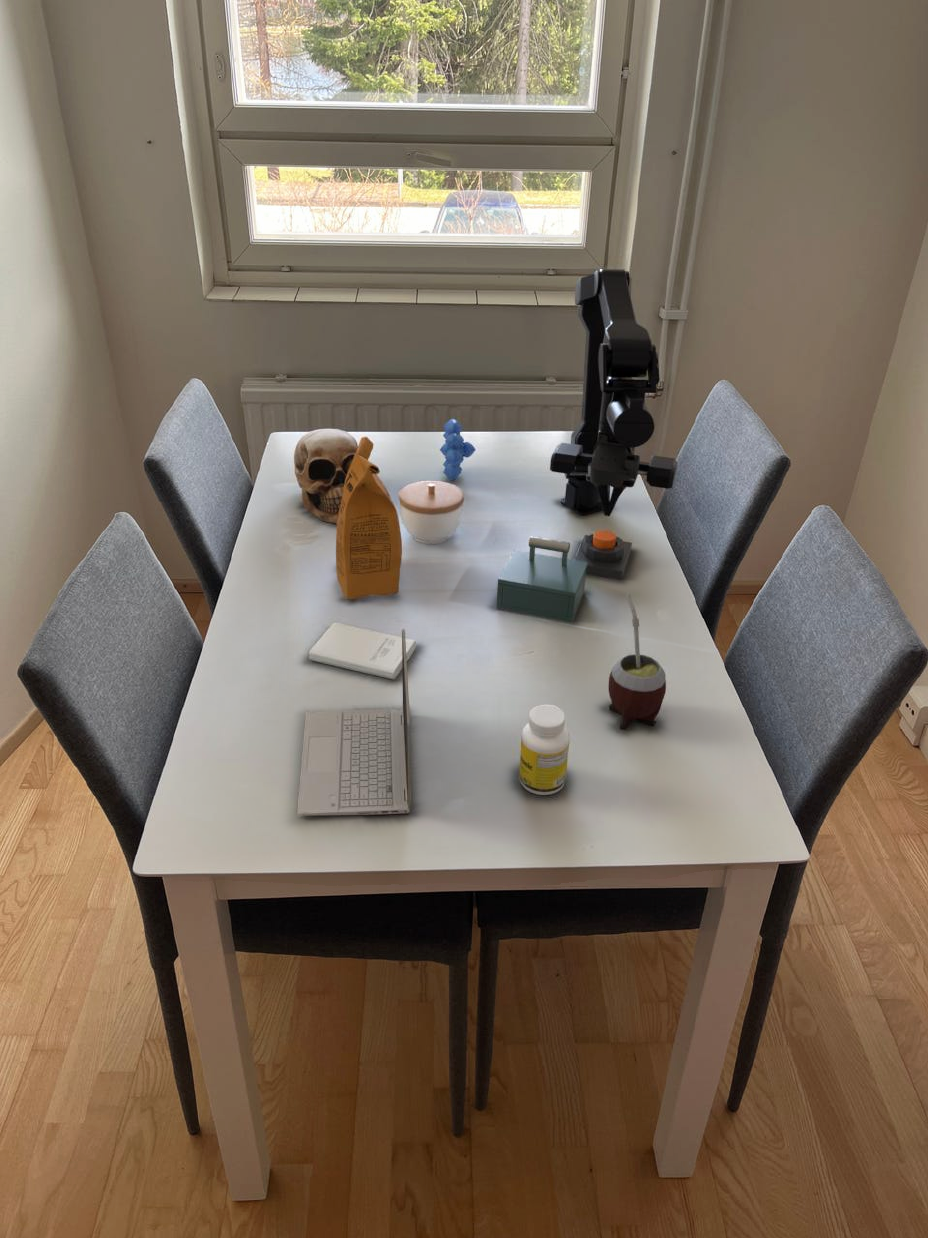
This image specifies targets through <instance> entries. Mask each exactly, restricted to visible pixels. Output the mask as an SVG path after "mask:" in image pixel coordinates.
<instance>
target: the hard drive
mask: <svg viewBox="0 0 928 1238" xmlns="http://www.w3.org/2000/svg"><path fill="white" fill-rule="evenodd" d="M405 641H406V659H407V662H408V660H409V659H411V656H412V655H413V653H414V652H415V651H416V647H417V640H416V639H411V638H407V637H405ZM308 658H309V661H312V662H317V663H320V664H325V665H329V666H335V667H338V668H342V669H347V670H351V671H355V672H359V673H363V674H368V675H372V676H376V677H381V678H385V679H389V680H396V679H397V678H398V675H399V674H400V673H401V671H402V636H398V635H393V634H389V633H385V632H380V631H375V630H371V629H366V628H362V627H358V626H355V625H354V626H353V625H348V624H344V623H340V622H333V623H332V624H331V625H330V626H329V627H328V629H327V630H326V631H325V632H324V633H323V634H322V636H321V637H320V638H319V639H318V641H316V642H315V644H314V645H313V646H312V647H311V648H310V650H309V651H308Z"/></svg>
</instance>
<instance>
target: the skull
mask: <svg viewBox="0 0 928 1238" xmlns="http://www.w3.org/2000/svg"><path fill="white" fill-rule="evenodd" d="M358 446H359V443H358V442H357V440H356V438H355V437H354V436H353V435H352V434H350V433H349V432H347V431H345V430H342V429H338V428H318V429H315V430H311V431H308V432H307V433H305V434H304V435H302V436H301V437H300V439H299V440H298V441H297V443H296V446H295V448H294V452H293V464H294V475H295V477H296V481H297V483H298V487H299V488H300V489H301V502H302V505H303V507H304V508H305V509H306V510H307V512H309V513H310V514H312V515H313V516H314V517H315V518H319V520H320V521H321V522H325V523H332V524H336V525H337V518H338V513H339V508H340V504H341V500H342V496H343V491H344V484H345V479H346V476H347V473H348V470H349V468H350V466H351V464H352V461H353V458H354V456H355V454H356V451H357V449H358Z"/></svg>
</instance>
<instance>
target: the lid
mask: <svg viewBox="0 0 928 1238" xmlns="http://www.w3.org/2000/svg"><path fill="white" fill-rule="evenodd" d="M528 547H529V552H528V551H524V550H523V551H522V550H516V549H513V552H512V553H511V555H510V557H509V558H508V560H507V562H506V564H505V565H504V568H503V569H502V571H501V572H500V575H499V577H498V578H497V584H498V583H501V584H506V585H512V586H517V587H523V588H528V589H534V590H539V591H545V592H551V593H556V594H562V595H567V596H573V597H575V596H576V594H577V591H578V589H579V586H580V584H581V581H582V579H583V576H584V574H585V571H586V569H587V566H588V563H587V562H581V561H576V560H574V559H570V558H568V555H569V552H570V549H571V543H570V542H568V541H563V540H562V541H561V540H555V539H550V538H545V537H539V536H530V537H529V539H528ZM536 549H540V550H547V551H551V552H552V551H553V552H558V553H562V554H561V557H558V556H552V555H546V554H541V553H536Z"/></svg>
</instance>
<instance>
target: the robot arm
mask: <svg viewBox="0 0 928 1238" xmlns="http://www.w3.org/2000/svg"><path fill="white" fill-rule="evenodd" d="M632 281H633V280H632V277H631V276H630V272H629V270H625V269H622V268H620V269H619V268H600V269H599V270H595V272H594V273H591V274H588V275H584V276H581V277H580V278H579V279H578V281H577V282H576V284H575V288H574V289H575V290H574V304H575V306H577V317H578V319H579V321H580V322H581V324H582V327H583V329H584V331H585V348H584V362H583V363H584V365H583V383H582V401H581V403H582V404H581V419H580V420H579V422H578V424H577V426H576V427H575V428H574V429H573V431H572V433H571V436H570V443H568V442H560V443H558V445H556V447H555V449H554V450H553V452H552V454H551V456H550V464H549V470H550V471H551V472H553V473H558V474H564V477H565V479H566V480H567V482H566V484H565V495H564V498H561V499H560V500H559V501H560V503H561V504H562V505H564V506H565V507H567V508H569V509H570V510H571V511H573V512H575V513H577V514H578V515H580V516H586V515H589V514H592V513H593V514H594V513H596V512H600V511H603V515H604V516H605V517H610V516H611V514H612V512H613V510H614V508H615V506H616V504H617V502H618V500H619V498H620V496H621V495H622V493H623V492H624V491H625V490H626V489H627V488H633V487H635V484H636V481H637V478H638V475H640V476H646V478H645V482H646V483H647V484H648V485H649V486H650V487H654V488H658V489H659V488H661V489H667V490H669V489H672V488H673V487H674V482H675V479H676V475H677V469H678V461H677V460H676V458H674V457H667V456H662V455H661V456H660V455H654V454H653V455H652V456H651V459H650V461H649V462H646V461H641V458H640V455H637V454H635V451H636V450H635V449H636V448H638V447H641V446H643V445H645V444H646V443H647V442H649V440H650V439H651V438H652V436H653V434H654V432H655V422H654V418H653V416H652V414H651V412H650V411H649V409H648V407H647V405H646V402H645V398H646V394H657V385H659V383H660V381H661V380H660V365H659V363H660V362H659V353H658V351H657V347H656V345H655V344H653V341H652V339H651V336H650V334H649V331H648V329H647V328H645V327H643V326H642V325H640V324H638V322H637V318H636V314H635V310H634V305H633V300H632ZM646 377H647V379H642V378H646ZM634 378H641V379H634ZM611 488H612V492H611Z"/></svg>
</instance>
